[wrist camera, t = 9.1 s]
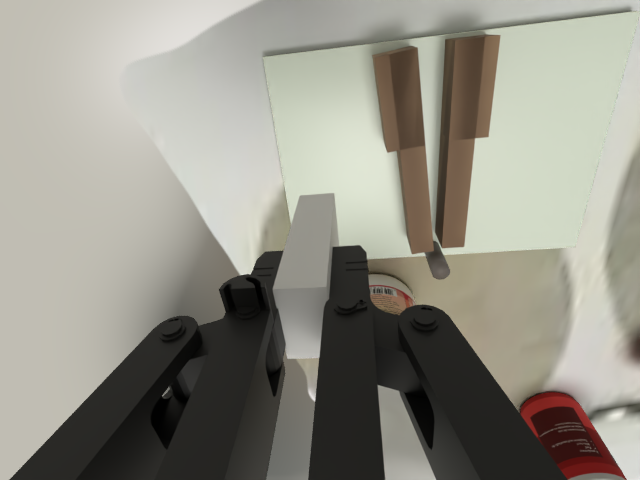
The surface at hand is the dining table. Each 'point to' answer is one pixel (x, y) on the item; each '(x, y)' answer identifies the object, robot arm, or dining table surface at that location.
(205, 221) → the dining table surface
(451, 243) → the tongs fixed
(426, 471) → the fruit juice
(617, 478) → the canned food
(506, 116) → the board
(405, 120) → the arm
